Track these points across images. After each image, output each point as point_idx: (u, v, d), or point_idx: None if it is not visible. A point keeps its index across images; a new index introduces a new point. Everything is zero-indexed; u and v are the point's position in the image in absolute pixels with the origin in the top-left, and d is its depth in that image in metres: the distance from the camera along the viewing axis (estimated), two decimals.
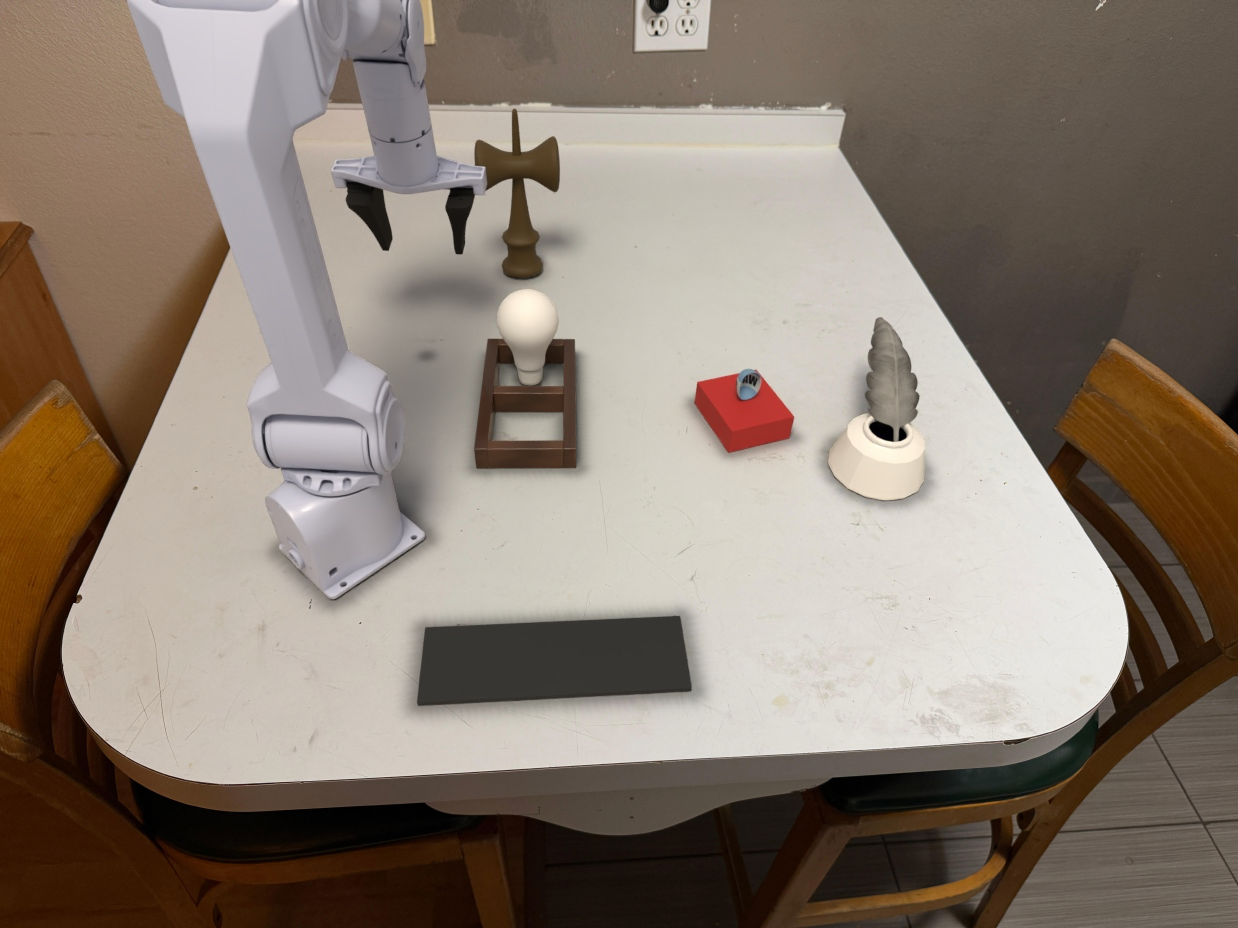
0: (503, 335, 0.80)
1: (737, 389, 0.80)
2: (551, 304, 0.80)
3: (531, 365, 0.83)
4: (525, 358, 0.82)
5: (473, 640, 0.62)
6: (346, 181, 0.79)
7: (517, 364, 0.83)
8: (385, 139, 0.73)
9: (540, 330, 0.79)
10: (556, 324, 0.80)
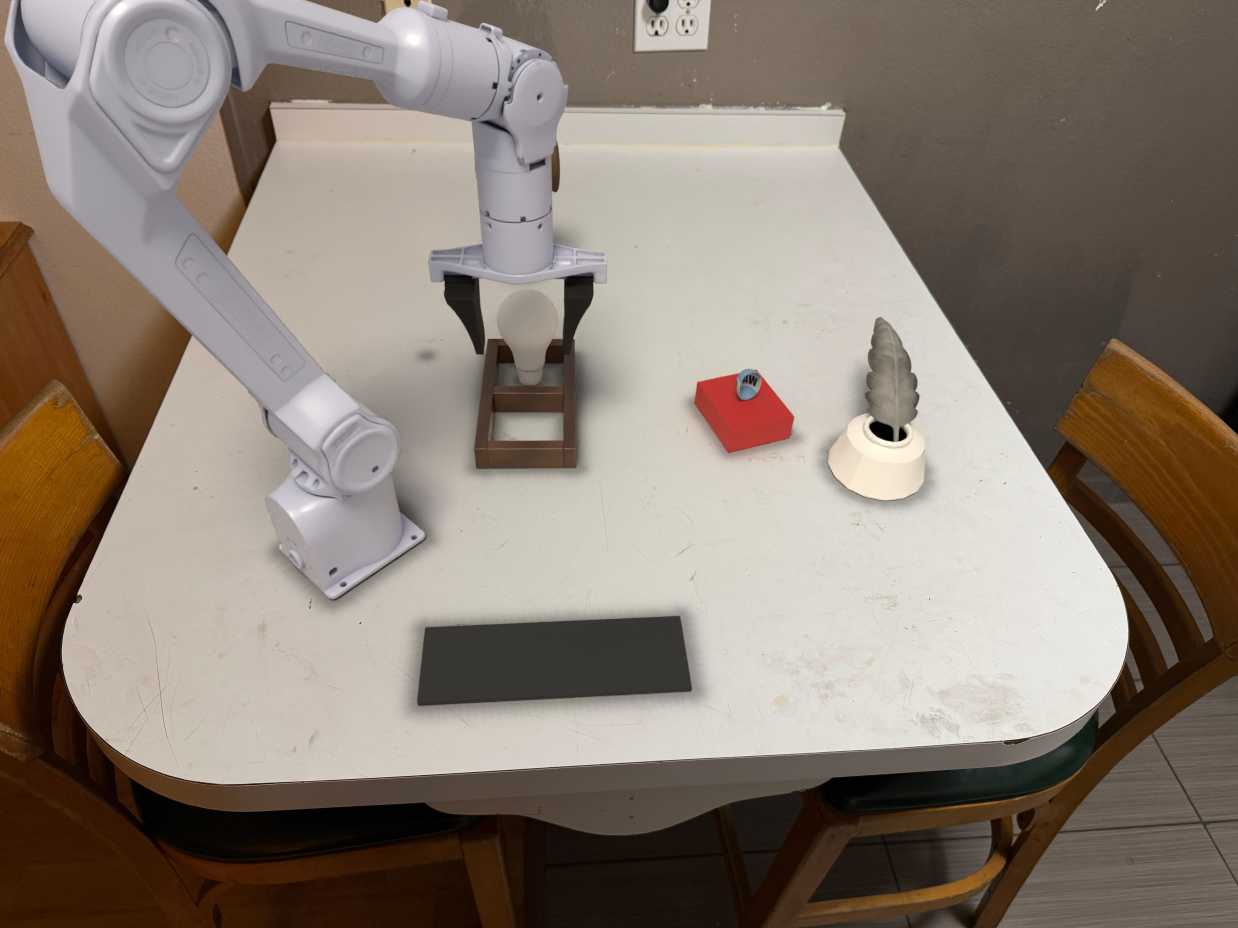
0: (503, 335, 0.80)
1: (737, 389, 0.80)
2: (551, 304, 0.80)
3: (531, 365, 0.83)
4: (525, 358, 0.82)
5: (473, 640, 0.62)
6: (444, 274, 0.67)
7: (517, 364, 0.83)
8: (483, 211, 0.62)
9: (540, 330, 0.79)
10: (556, 324, 0.80)
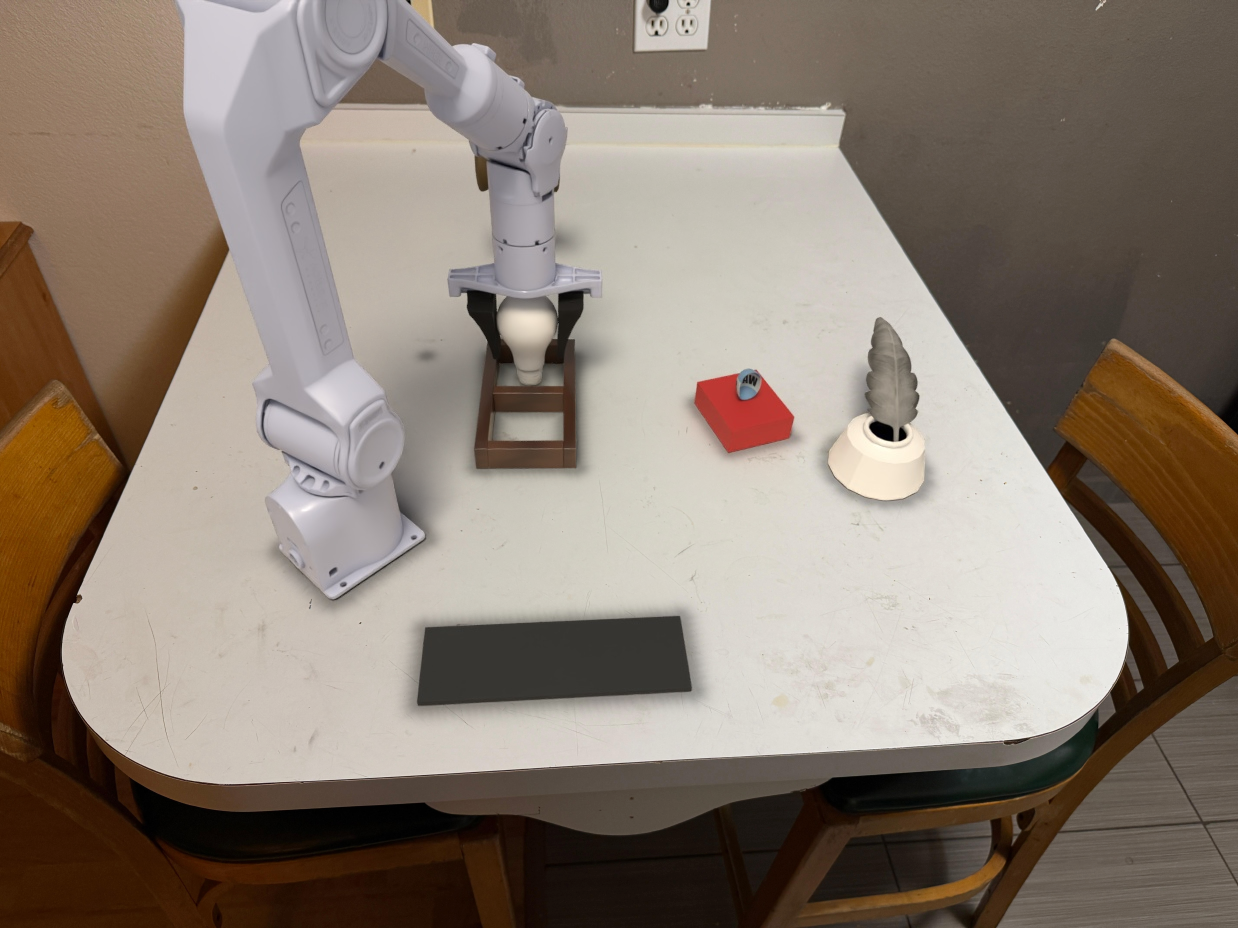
0: (503, 335, 0.80)
1: (737, 389, 0.80)
2: (551, 304, 0.80)
3: (531, 365, 0.83)
4: (525, 358, 0.82)
5: (473, 640, 0.62)
6: (461, 289, 0.77)
7: (517, 364, 0.83)
8: (499, 239, 0.72)
9: (540, 330, 0.79)
10: (556, 324, 0.80)
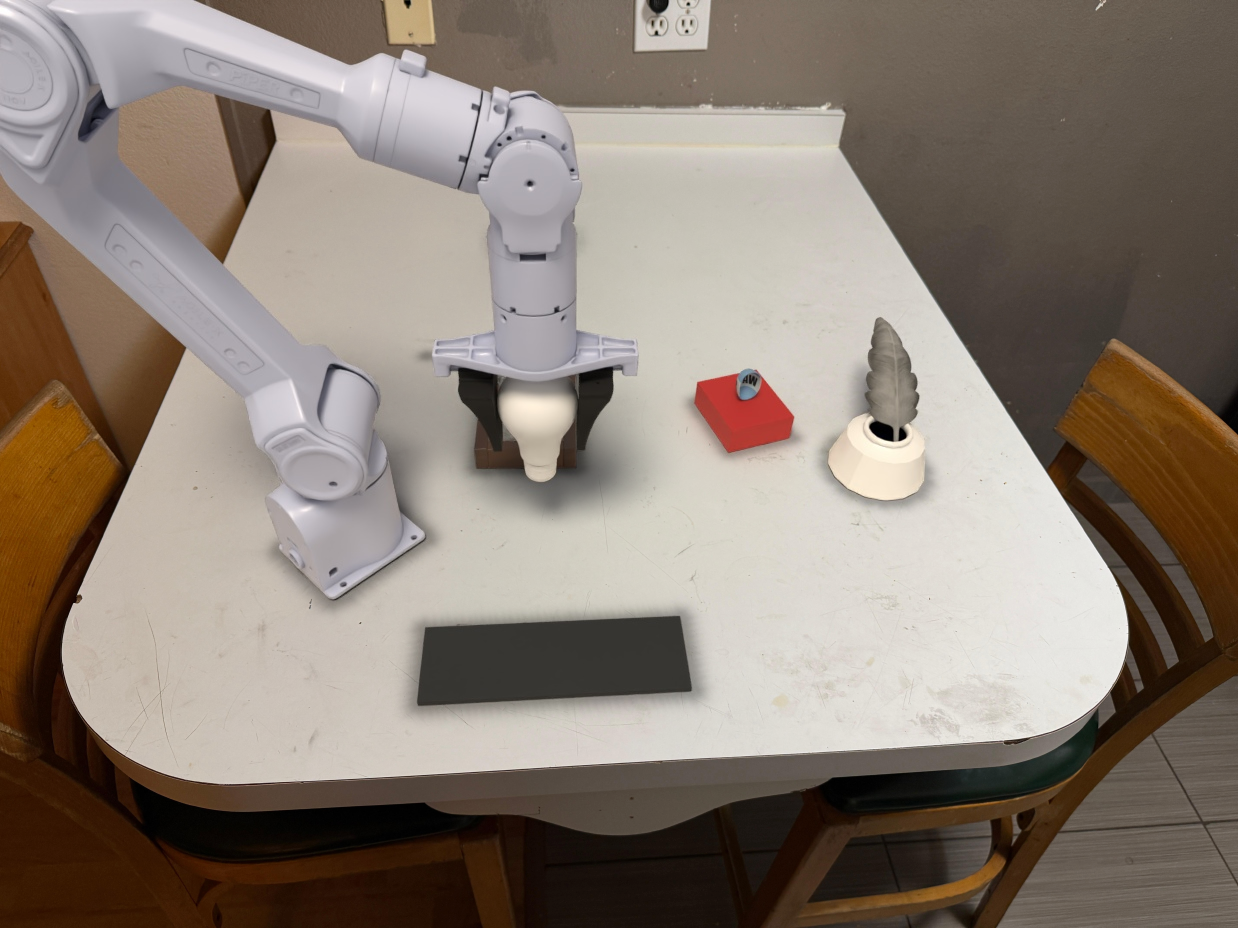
0: (506, 424, 0.60)
1: (737, 389, 0.80)
2: (569, 383, 0.60)
3: (542, 459, 0.63)
4: (535, 451, 0.62)
5: (473, 640, 0.62)
6: (450, 367, 0.58)
7: (524, 457, 0.64)
8: None
9: (556, 419, 0.59)
10: (576, 408, 0.61)
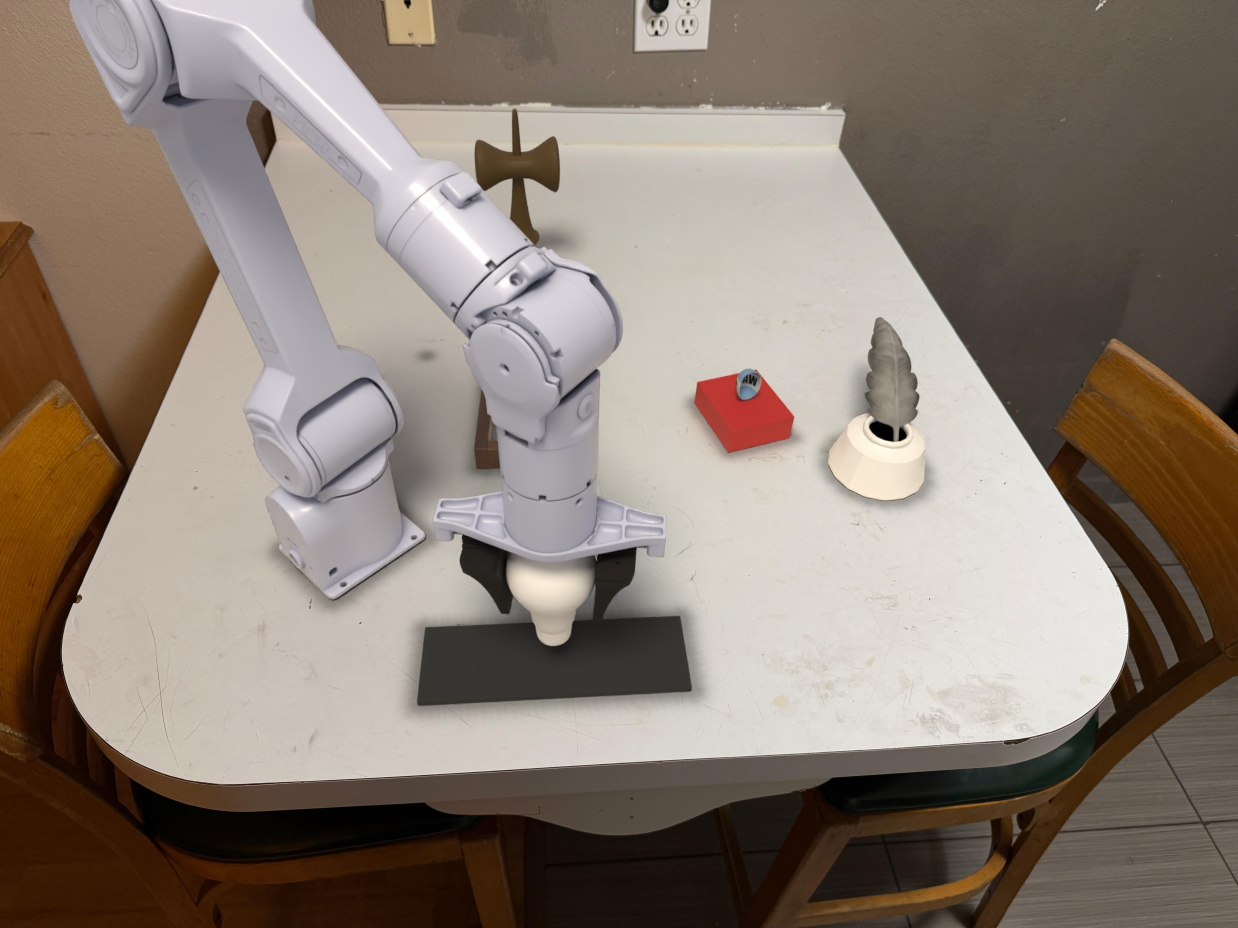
0: (513, 593, 0.53)
1: (737, 389, 0.80)
2: None
3: (554, 627, 0.56)
4: (545, 620, 0.55)
5: (473, 640, 0.62)
6: (453, 531, 0.52)
7: (534, 621, 0.57)
8: None
9: (567, 596, 0.52)
10: (593, 582, 0.54)
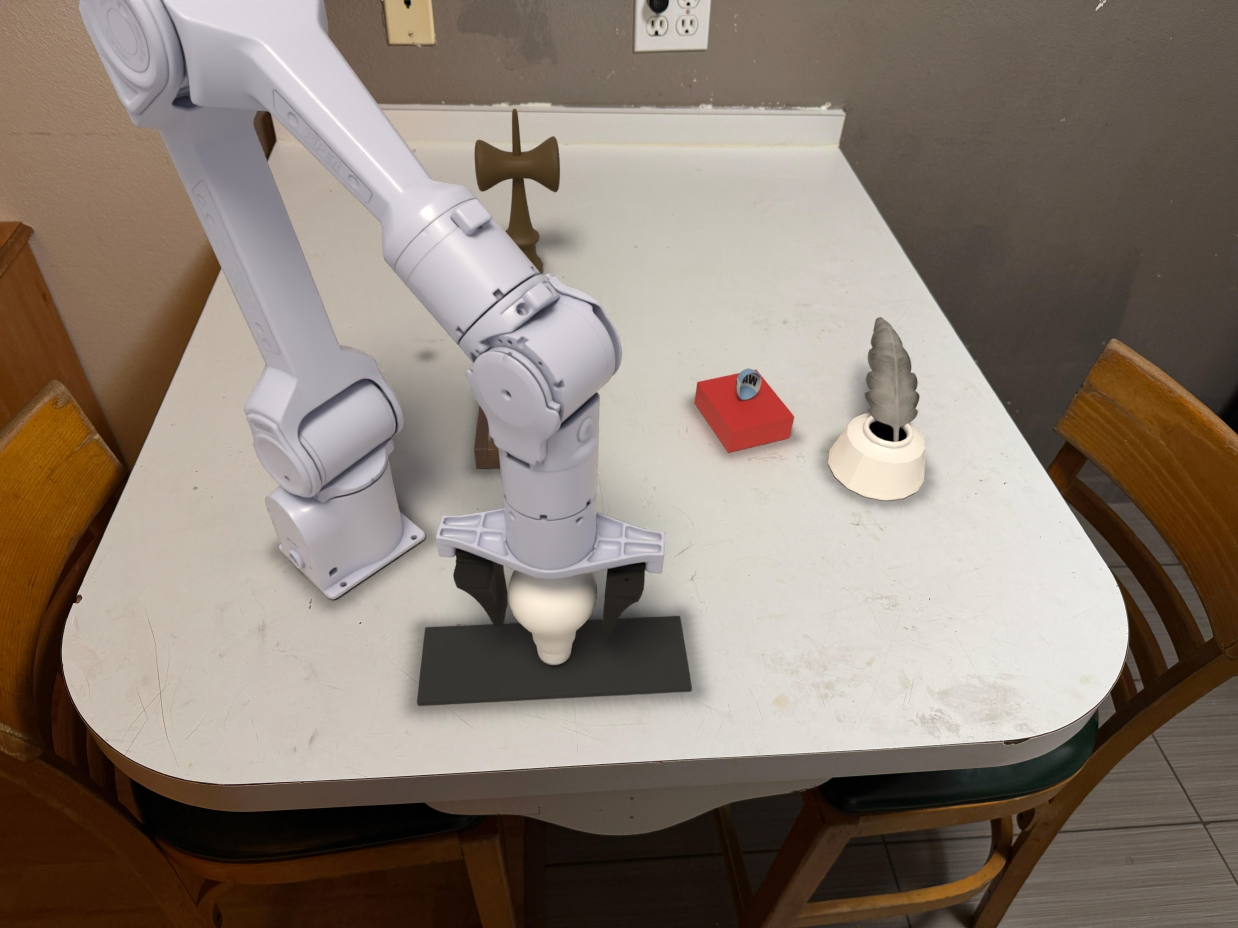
0: (515, 616, 0.55)
1: (737, 389, 0.80)
2: (587, 577, 0.55)
3: (554, 647, 0.58)
4: (546, 641, 0.57)
5: (473, 640, 0.62)
6: (456, 547, 0.53)
7: (535, 641, 0.59)
8: None
9: (568, 619, 0.54)
10: (592, 605, 0.55)
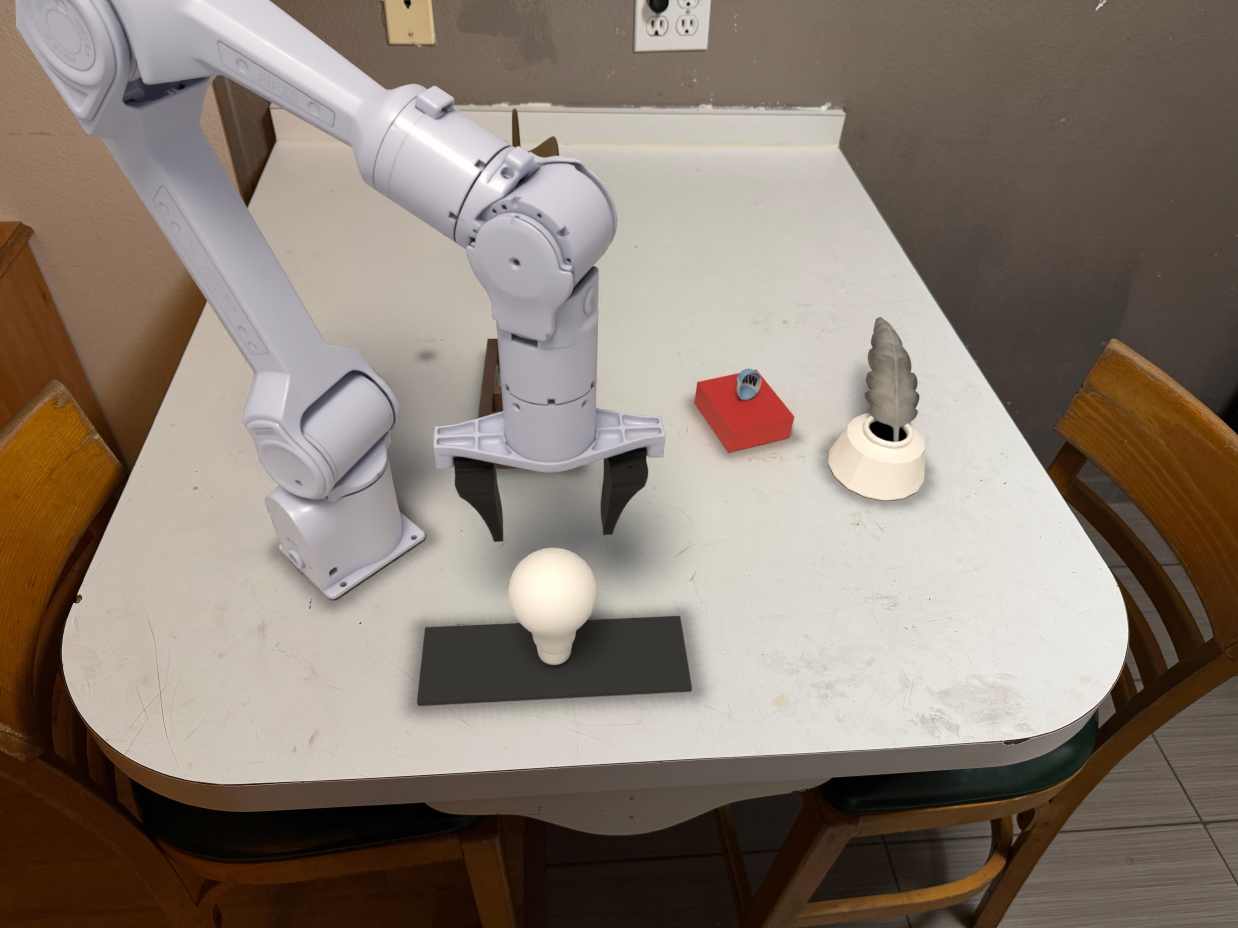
0: (515, 616, 0.55)
1: (737, 389, 0.80)
2: (587, 577, 0.55)
3: (554, 647, 0.58)
4: (546, 641, 0.57)
5: (473, 640, 0.62)
6: (453, 457, 0.51)
7: (535, 641, 0.59)
8: None
9: (568, 619, 0.54)
10: (592, 605, 0.55)
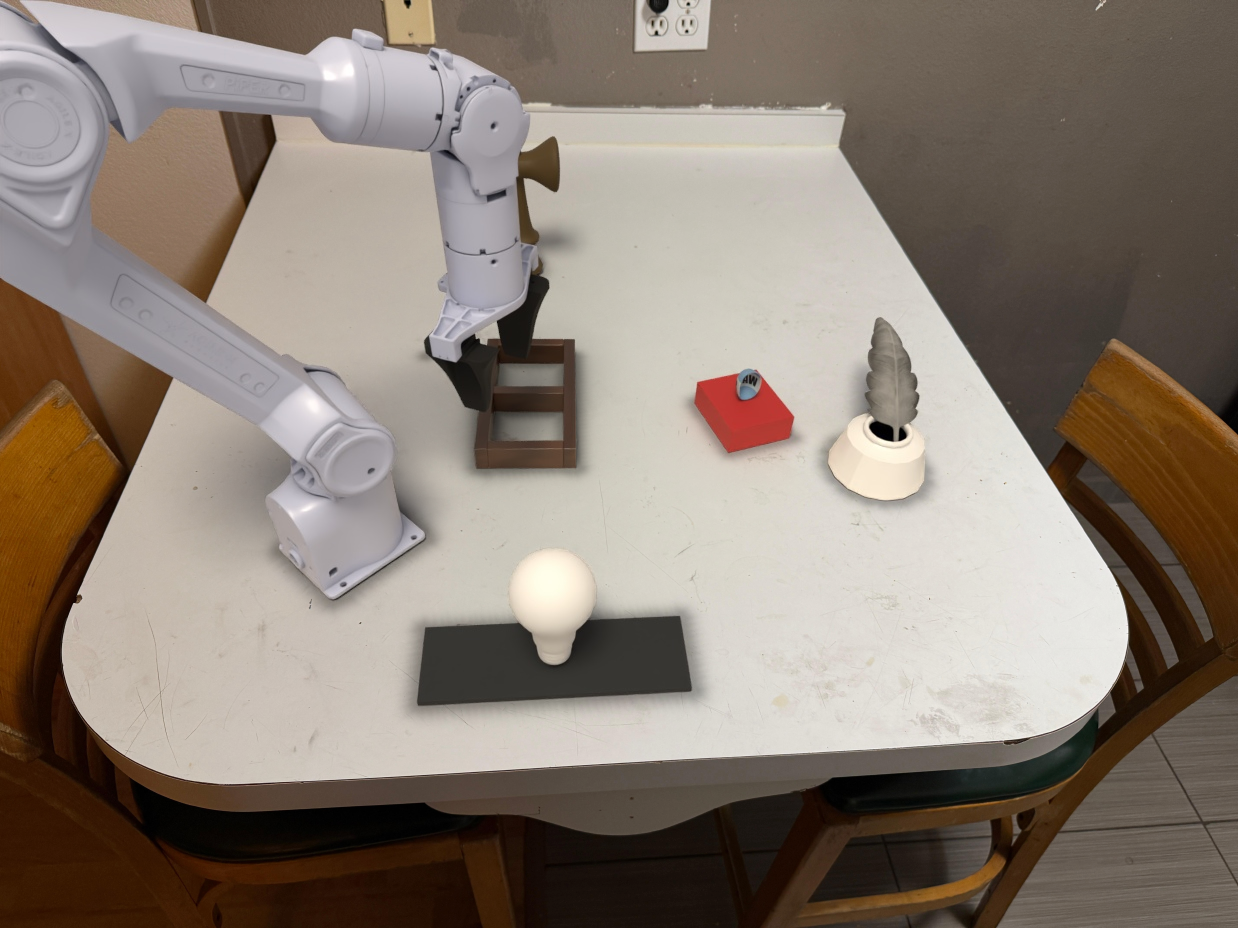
0: (515, 616, 0.55)
1: (737, 389, 0.80)
2: (587, 577, 0.55)
3: (554, 647, 0.58)
4: (546, 641, 0.57)
5: (473, 640, 0.62)
6: None
7: (535, 641, 0.59)
8: (444, 240, 0.59)
9: (568, 619, 0.54)
10: (592, 605, 0.55)
